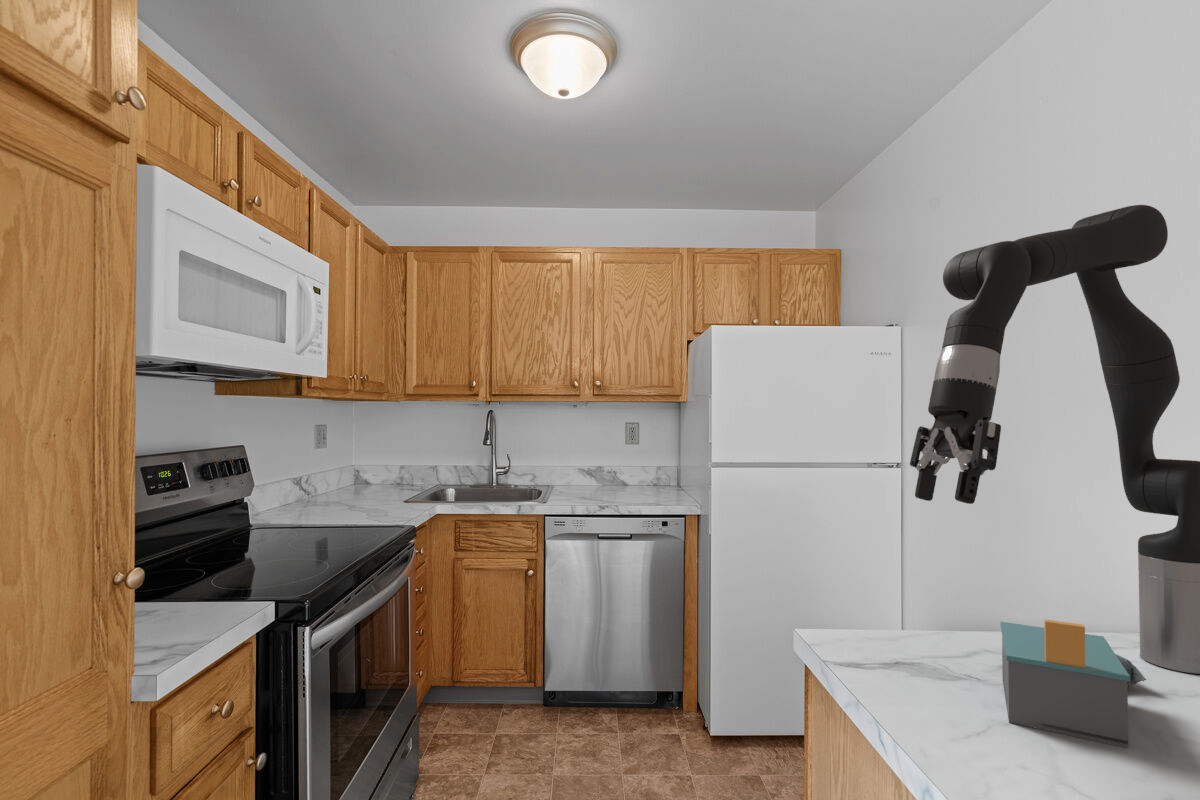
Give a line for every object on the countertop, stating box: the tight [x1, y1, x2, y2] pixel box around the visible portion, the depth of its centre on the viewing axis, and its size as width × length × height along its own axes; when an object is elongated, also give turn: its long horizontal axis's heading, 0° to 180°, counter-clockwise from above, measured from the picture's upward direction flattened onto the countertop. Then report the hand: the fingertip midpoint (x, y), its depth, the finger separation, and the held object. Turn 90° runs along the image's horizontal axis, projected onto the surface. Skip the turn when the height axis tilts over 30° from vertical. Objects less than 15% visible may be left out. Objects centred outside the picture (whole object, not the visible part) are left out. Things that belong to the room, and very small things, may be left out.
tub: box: [1001, 636, 1129, 749], centre depth 85 cm, size 16×12×8 cm
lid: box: [999, 618, 1130, 681], centre depth 85 cm, size 16×12×6 cm
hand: (942, 500), depth 83 cm, fingers open, 8 cm apart
